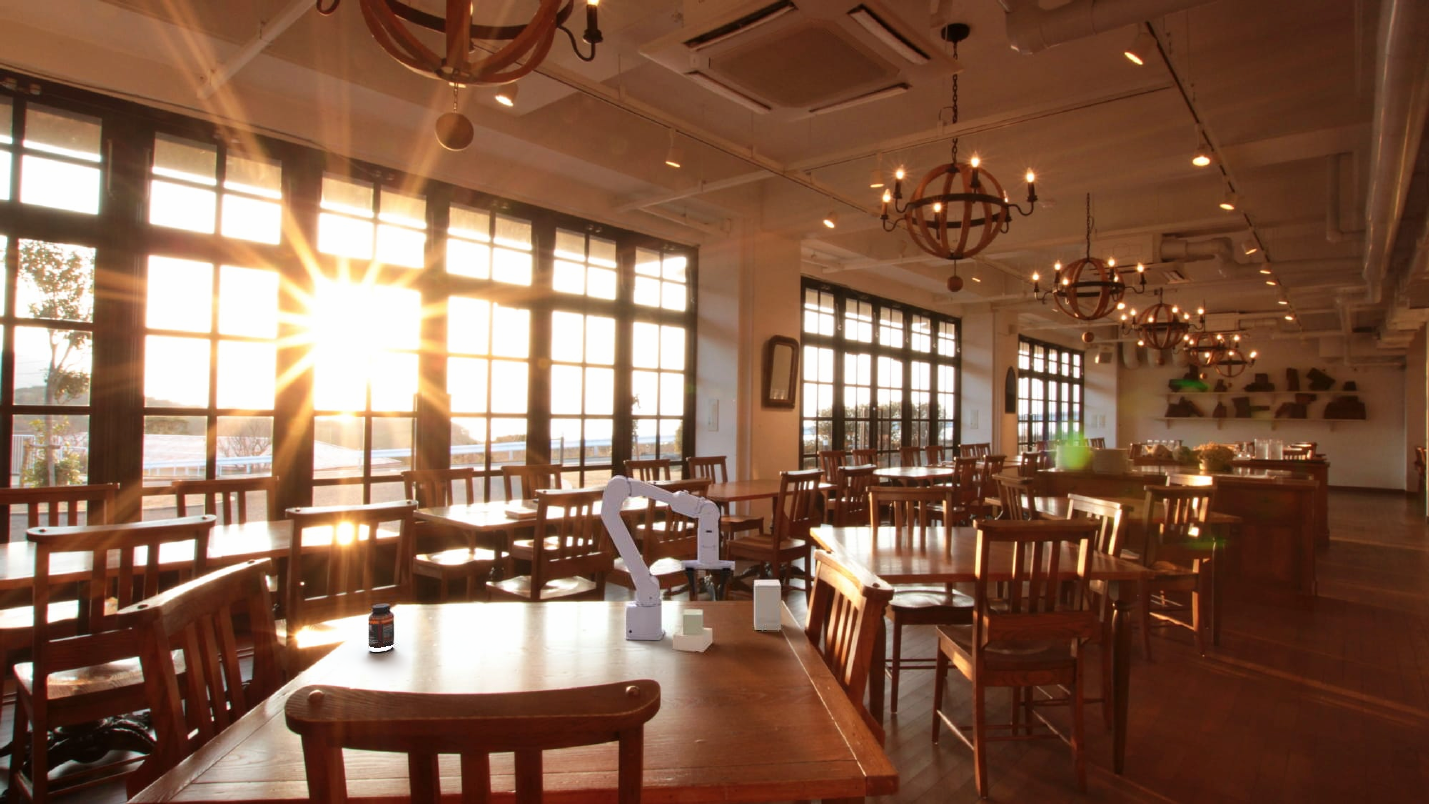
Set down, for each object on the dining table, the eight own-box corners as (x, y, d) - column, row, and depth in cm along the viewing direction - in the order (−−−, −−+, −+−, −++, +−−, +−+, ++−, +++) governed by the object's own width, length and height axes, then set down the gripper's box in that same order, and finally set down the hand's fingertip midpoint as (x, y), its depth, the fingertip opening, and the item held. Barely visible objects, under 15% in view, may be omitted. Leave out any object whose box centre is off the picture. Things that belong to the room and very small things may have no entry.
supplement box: (781, 631, 197) (781, 585, 197) (754, 631, 197) (754, 585, 197) (779, 623, 204) (779, 579, 204) (753, 623, 204) (753, 579, 204)
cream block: (672, 650, 182) (672, 634, 182) (683, 640, 190) (683, 625, 190) (702, 653, 180) (702, 637, 180) (712, 643, 187) (712, 628, 188)
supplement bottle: (398, 646, 185) (399, 602, 185) (386, 654, 179) (386, 608, 179) (377, 645, 186) (377, 601, 186) (363, 653, 180) (363, 608, 180)
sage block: (682, 634, 182) (682, 614, 183) (683, 628, 187) (683, 609, 188) (702, 634, 182) (702, 614, 182) (703, 628, 187) (703, 609, 187)
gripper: (679, 547, 192) (679, 598, 191) (733, 548, 190) (734, 599, 190) (683, 543, 199) (683, 592, 198) (735, 543, 197) (735, 593, 197)
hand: (708, 595), depth 195 cm, fingers open, 7 cm apart
